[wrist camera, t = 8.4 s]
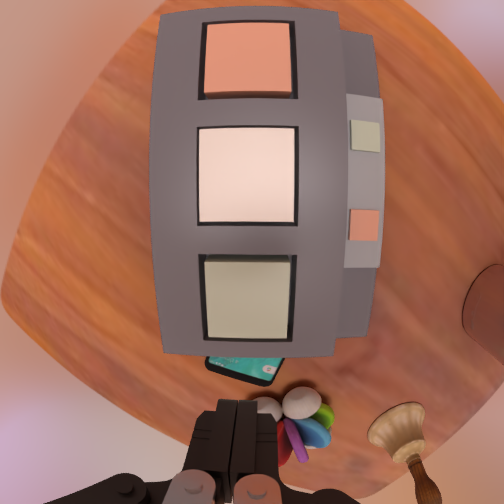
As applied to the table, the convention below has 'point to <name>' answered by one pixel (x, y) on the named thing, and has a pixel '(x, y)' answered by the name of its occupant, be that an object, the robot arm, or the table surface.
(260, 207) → the key cream
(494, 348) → the robot arm
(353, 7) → the table surface
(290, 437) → the rainbow petal flower toy
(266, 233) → the keypad
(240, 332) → the key sage
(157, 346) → the table surface
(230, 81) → the key terracotta
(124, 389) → the table surface
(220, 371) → the smartphone
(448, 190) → the table surface
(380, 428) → the hand bell
